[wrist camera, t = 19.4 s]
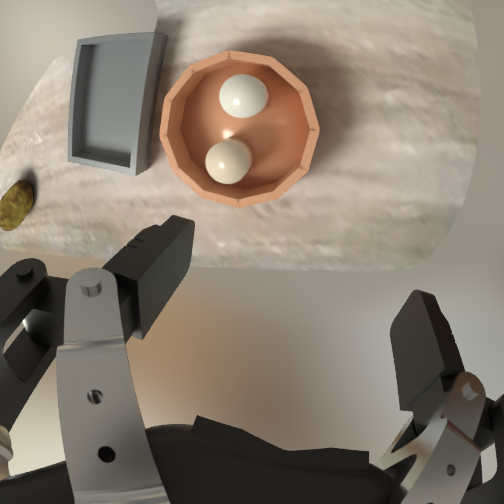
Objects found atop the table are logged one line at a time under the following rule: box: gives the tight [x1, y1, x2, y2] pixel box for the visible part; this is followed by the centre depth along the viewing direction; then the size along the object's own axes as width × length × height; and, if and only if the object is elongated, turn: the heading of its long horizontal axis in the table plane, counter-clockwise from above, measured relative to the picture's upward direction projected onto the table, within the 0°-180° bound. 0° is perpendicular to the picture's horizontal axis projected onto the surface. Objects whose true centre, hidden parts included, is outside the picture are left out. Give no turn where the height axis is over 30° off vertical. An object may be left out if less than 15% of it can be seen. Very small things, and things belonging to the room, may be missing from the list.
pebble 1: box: [219, 74, 271, 118], centre depth 29 cm, size 5×5×4 cm
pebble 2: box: [205, 137, 255, 184], centre depth 34 cm, size 5×5×4 cm
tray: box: [68, 32, 168, 176], centre depth 33 cm, size 20×14×4 cm
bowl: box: [159, 50, 320, 208], centre depth 32 cm, size 18×18×5 cm
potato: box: [0, 180, 33, 231], centre depth 45 cm, size 8×13×8 cm, turn 111°
